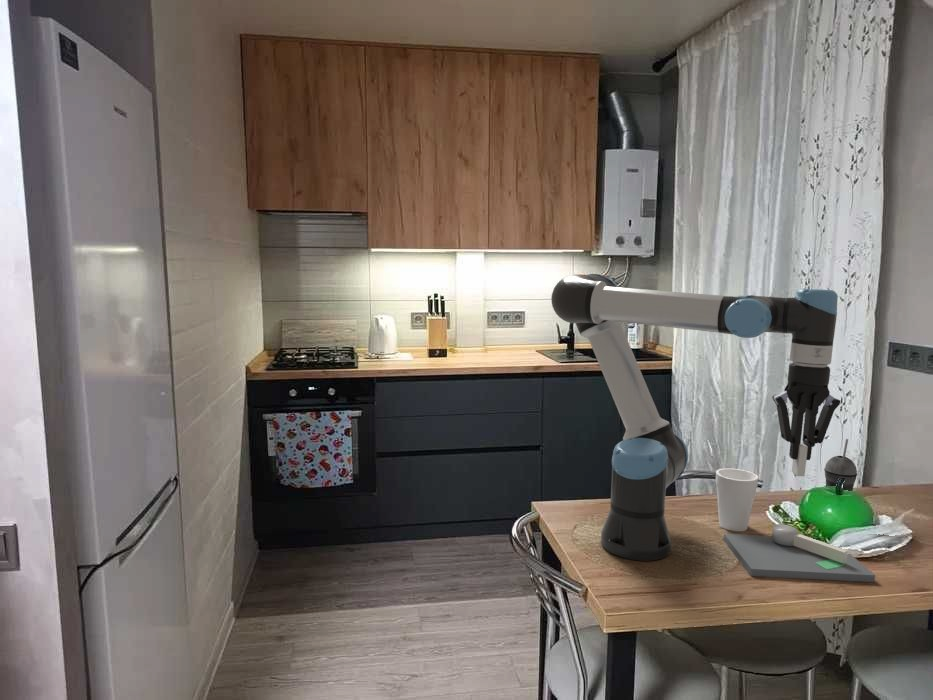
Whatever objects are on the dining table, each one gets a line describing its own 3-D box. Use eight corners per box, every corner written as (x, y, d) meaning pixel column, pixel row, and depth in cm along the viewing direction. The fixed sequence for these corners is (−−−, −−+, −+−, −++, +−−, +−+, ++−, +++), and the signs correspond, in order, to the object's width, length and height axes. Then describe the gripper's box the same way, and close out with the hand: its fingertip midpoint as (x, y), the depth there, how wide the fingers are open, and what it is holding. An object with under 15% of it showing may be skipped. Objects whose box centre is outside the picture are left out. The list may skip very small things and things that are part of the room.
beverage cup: (813, 511, 160) (820, 436, 158) (833, 508, 163) (840, 434, 160) (839, 522, 153) (846, 444, 151) (859, 518, 156) (867, 442, 153)
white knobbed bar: (767, 539, 138) (768, 527, 138) (779, 534, 141) (780, 522, 141) (839, 565, 126) (840, 552, 126) (850, 559, 129) (851, 546, 129)
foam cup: (743, 537, 144) (746, 483, 142) (705, 525, 151) (708, 473, 149) (760, 526, 150) (764, 475, 149) (723, 515, 157) (727, 465, 155)
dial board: (750, 575, 126) (751, 568, 125) (723, 539, 143) (723, 533, 142) (874, 582, 124) (875, 574, 124) (831, 545, 141) (832, 538, 140)
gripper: (784, 365, 124) (773, 478, 128) (852, 368, 123) (839, 482, 126) (769, 360, 132) (759, 466, 135) (833, 362, 131) (821, 470, 134)
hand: (798, 473), depth 131 cm, fingers closed
